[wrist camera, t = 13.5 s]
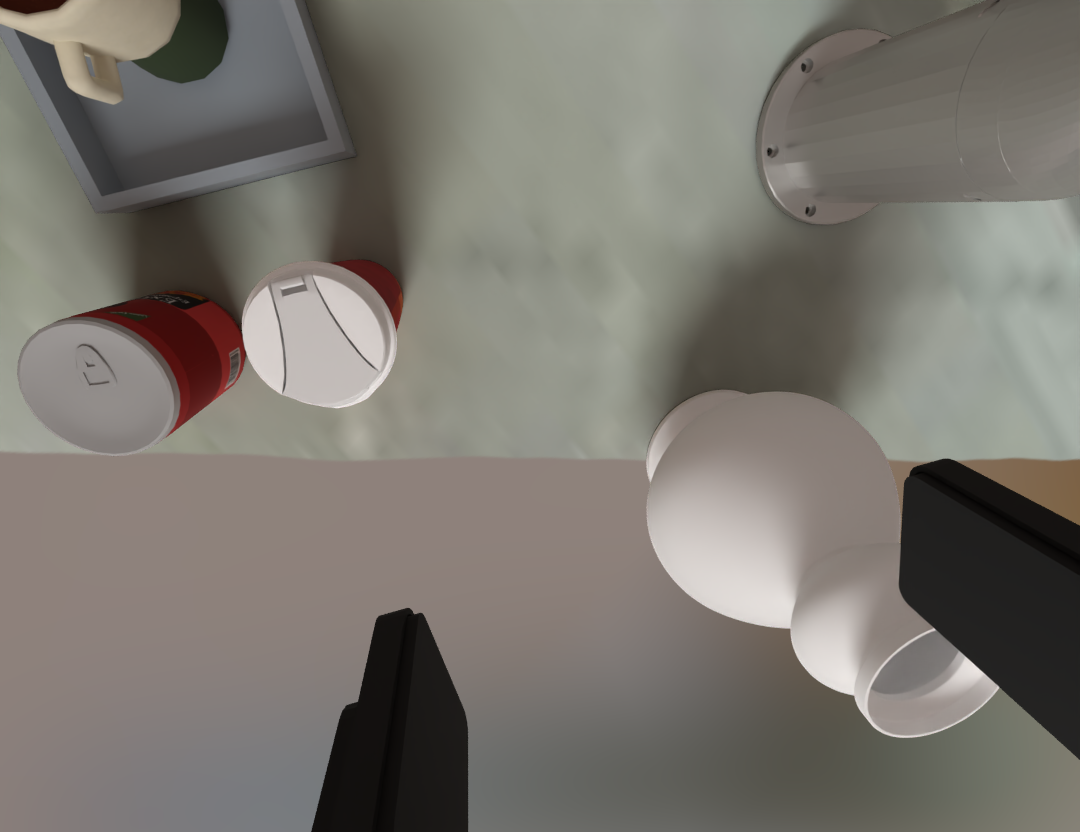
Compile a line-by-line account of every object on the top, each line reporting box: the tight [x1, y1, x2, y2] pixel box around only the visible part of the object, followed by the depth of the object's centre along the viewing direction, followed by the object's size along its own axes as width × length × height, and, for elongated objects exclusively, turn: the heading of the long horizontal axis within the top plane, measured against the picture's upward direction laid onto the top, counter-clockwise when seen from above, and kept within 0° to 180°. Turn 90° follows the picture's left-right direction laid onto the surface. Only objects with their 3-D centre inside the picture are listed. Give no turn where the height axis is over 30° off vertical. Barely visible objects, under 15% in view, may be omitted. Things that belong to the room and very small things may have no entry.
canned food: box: [17, 291, 246, 456], centre depth 34 cm, size 8×8×11 cm
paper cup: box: [242, 260, 403, 408], centre depth 33 cm, size 8×8×14 cm
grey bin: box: [0, 0, 357, 213], centre depth 30 cm, size 16×18×4 cm
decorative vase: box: [646, 390, 999, 738], centre depth 36 cm, size 18×18×25 cm
